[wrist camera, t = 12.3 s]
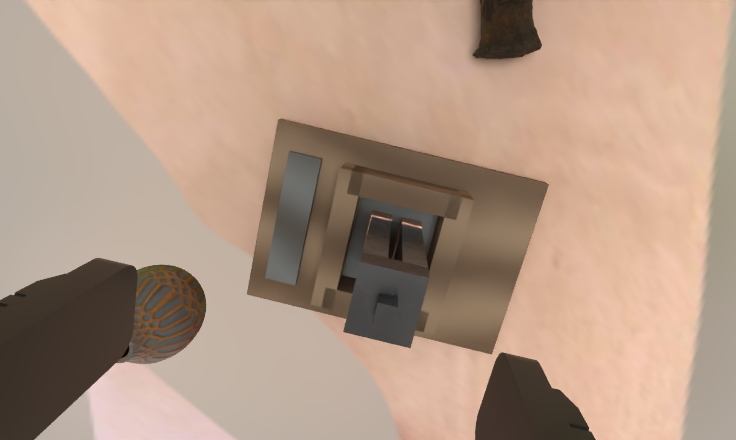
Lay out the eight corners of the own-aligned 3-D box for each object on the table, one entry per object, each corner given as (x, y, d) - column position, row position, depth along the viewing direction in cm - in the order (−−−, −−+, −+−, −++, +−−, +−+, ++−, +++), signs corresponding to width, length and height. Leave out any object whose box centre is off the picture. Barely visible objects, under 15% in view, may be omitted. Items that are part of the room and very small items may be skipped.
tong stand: (281, 118, 35) (266, 120, 31) (544, 182, 35) (562, 192, 31) (250, 289, 38) (234, 310, 35) (489, 347, 38) (499, 375, 34)
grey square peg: (372, 209, 35) (357, 268, 22) (421, 221, 35) (432, 286, 22) (360, 260, 36) (339, 343, 23) (407, 272, 36) (411, 361, 23)
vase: (120, 293, 39) (43, 346, 31) (169, 237, 38) (102, 276, 29) (183, 347, 40) (126, 412, 32) (234, 293, 39) (187, 347, 30)
